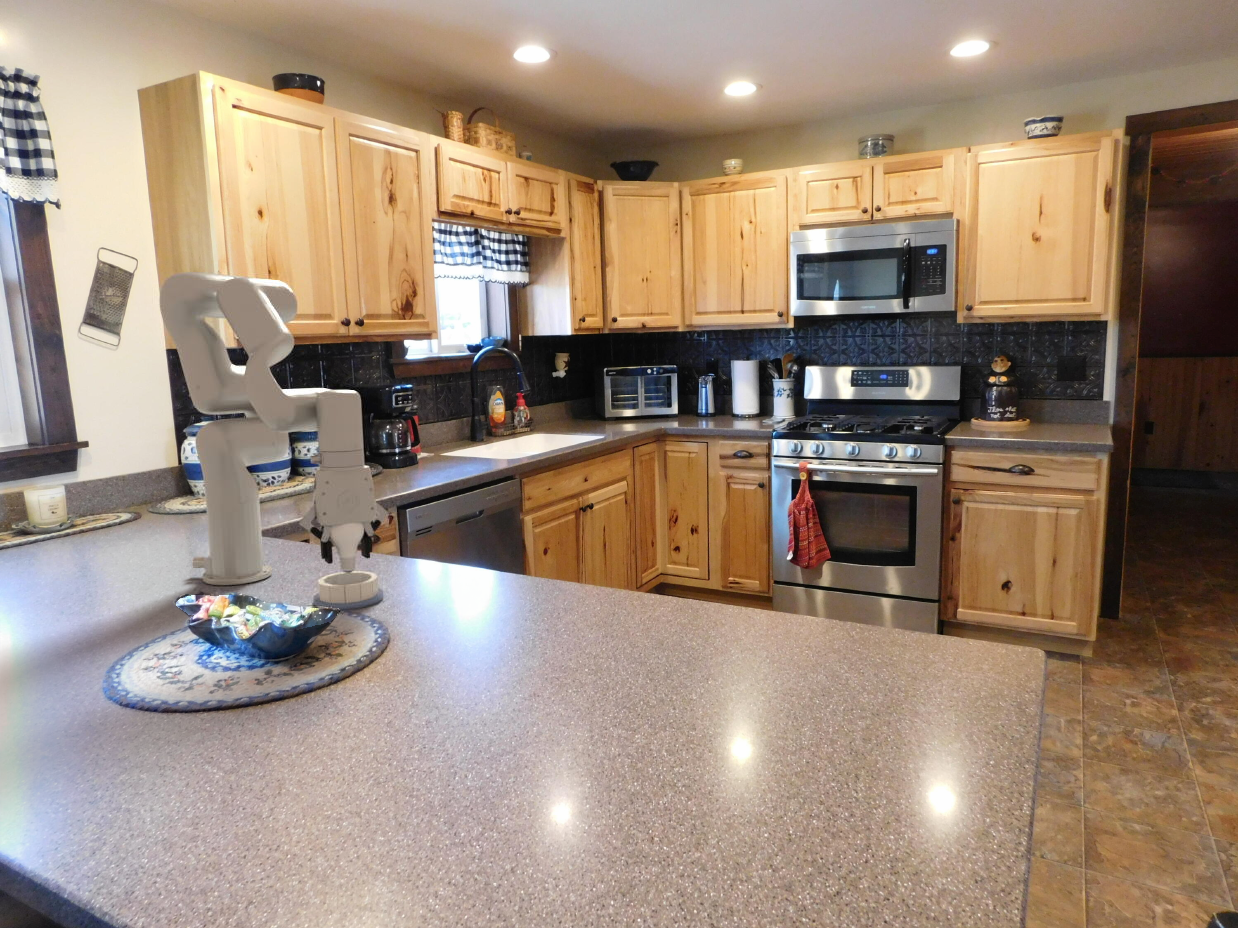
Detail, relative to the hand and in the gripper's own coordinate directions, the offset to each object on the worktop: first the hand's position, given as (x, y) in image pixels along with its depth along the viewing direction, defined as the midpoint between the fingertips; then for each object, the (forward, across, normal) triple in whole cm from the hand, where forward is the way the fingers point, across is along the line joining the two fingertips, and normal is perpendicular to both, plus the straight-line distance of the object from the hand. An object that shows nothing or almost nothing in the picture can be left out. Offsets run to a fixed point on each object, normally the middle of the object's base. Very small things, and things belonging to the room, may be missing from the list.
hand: (347, 558), depth 146 cm
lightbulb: (+3, 0, 0) cm, 3 cm away
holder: (+8, 0, 0) cm, 8 cm away
